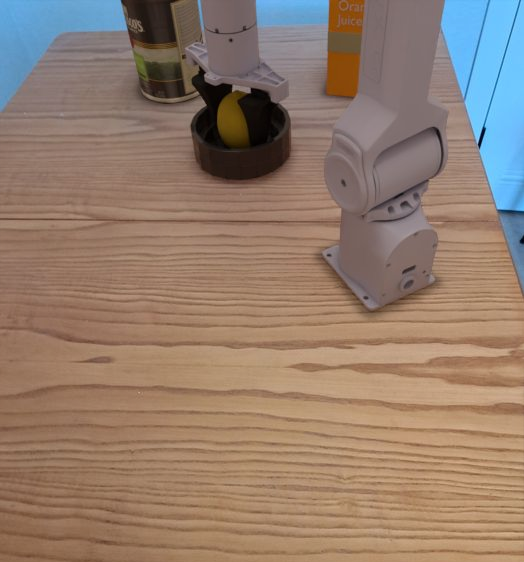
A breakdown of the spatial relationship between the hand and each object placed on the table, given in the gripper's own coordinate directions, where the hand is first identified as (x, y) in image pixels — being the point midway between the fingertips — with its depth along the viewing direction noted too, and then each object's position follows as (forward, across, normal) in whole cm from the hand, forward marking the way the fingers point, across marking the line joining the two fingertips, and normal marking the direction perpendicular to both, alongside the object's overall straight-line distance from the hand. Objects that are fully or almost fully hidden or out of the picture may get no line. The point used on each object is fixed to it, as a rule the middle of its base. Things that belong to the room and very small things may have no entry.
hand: (241, 136), depth 72 cm
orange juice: (+3, +1, +23) cm, 23 cm away
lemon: (+2, 0, 0) cm, 2 cm away
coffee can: (+3, -20, +6) cm, 21 cm away
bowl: (+2, 0, 0) cm, 2 cm away
